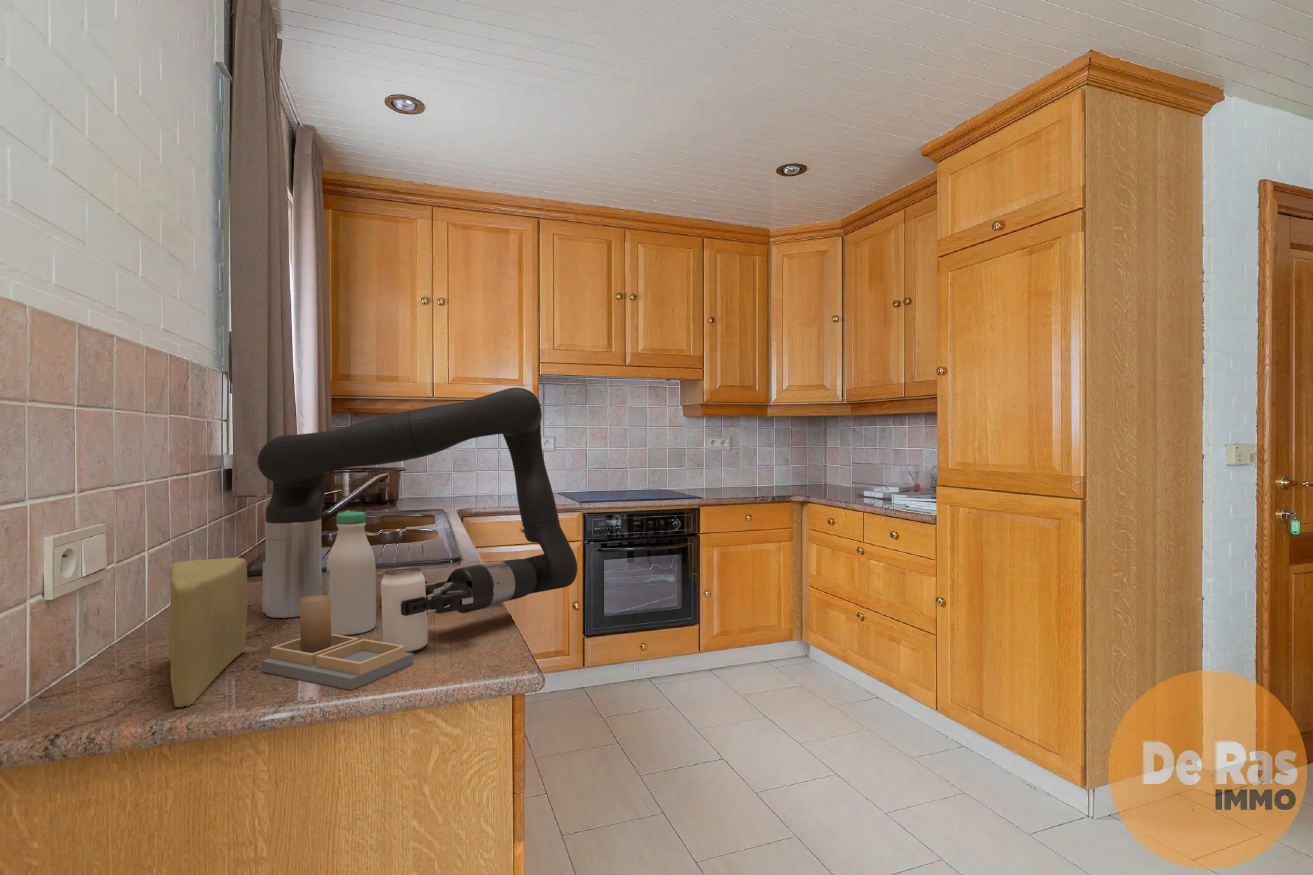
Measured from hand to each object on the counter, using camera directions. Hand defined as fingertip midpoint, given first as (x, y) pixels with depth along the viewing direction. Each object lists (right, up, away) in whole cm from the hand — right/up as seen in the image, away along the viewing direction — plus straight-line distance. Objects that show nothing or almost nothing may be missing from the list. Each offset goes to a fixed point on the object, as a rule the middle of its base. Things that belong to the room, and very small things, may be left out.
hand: (392, 605), depth 103 cm
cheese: (-22, -8, -11) cm, 26 cm away
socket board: (-5, -7, -6) cm, 11 cm away
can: (+1, -7, +2) cm, 8 cm away
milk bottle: (-12, -7, +12) cm, 19 cm away
